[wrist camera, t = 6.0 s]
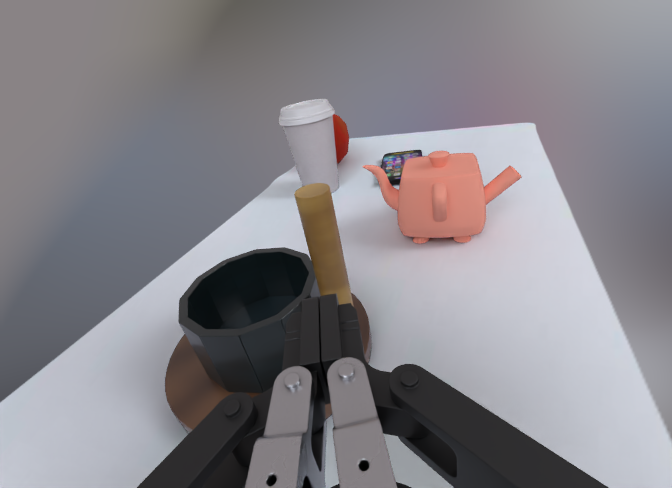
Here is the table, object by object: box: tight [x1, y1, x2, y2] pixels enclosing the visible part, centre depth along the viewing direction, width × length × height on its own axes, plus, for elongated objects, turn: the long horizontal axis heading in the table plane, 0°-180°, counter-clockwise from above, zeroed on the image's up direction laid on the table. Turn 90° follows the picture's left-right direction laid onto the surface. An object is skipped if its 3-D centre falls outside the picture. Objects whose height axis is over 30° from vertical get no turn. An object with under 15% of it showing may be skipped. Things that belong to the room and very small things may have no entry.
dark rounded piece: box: [165, 183, 371, 433], centre depth 28 cm, size 18×18×15 cm
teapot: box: [363, 151, 521, 244], centre depth 43 cm, size 14×12×10 cm
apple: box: [333, 114, 349, 164], centre depth 74 cm, size 10×10×12 cm
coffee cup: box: [279, 99, 339, 193], centre depth 61 cm, size 10×10×15 cm
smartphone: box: [381, 150, 422, 185], centre depth 66 cm, size 8×1×15 cm
